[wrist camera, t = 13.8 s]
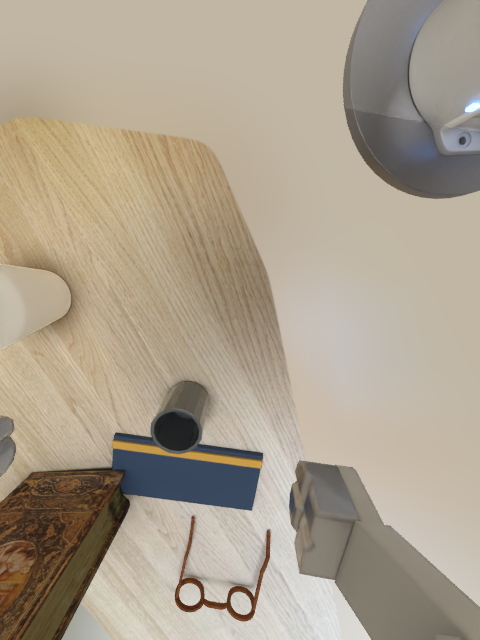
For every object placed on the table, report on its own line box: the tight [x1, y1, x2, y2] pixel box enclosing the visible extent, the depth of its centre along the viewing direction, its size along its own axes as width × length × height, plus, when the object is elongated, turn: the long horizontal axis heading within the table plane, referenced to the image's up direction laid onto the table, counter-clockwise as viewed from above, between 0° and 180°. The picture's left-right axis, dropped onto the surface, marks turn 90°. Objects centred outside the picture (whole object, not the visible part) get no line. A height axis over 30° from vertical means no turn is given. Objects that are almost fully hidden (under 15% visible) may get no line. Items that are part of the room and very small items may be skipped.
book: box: [0, 471, 130, 640], centre depth 28 cm, size 16×6×25 cm, turn 95°
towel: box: [112, 433, 263, 511], centre depth 39 cm, size 22×10×1 cm, turn 81°
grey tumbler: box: [151, 381, 209, 454], centre depth 33 cm, size 6×6×7 cm
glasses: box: [175, 517, 270, 621], centre depth 41 cm, size 13×13×5 cm
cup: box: [0, 264, 71, 350], centre depth 28 cm, size 9×9×12 cm
